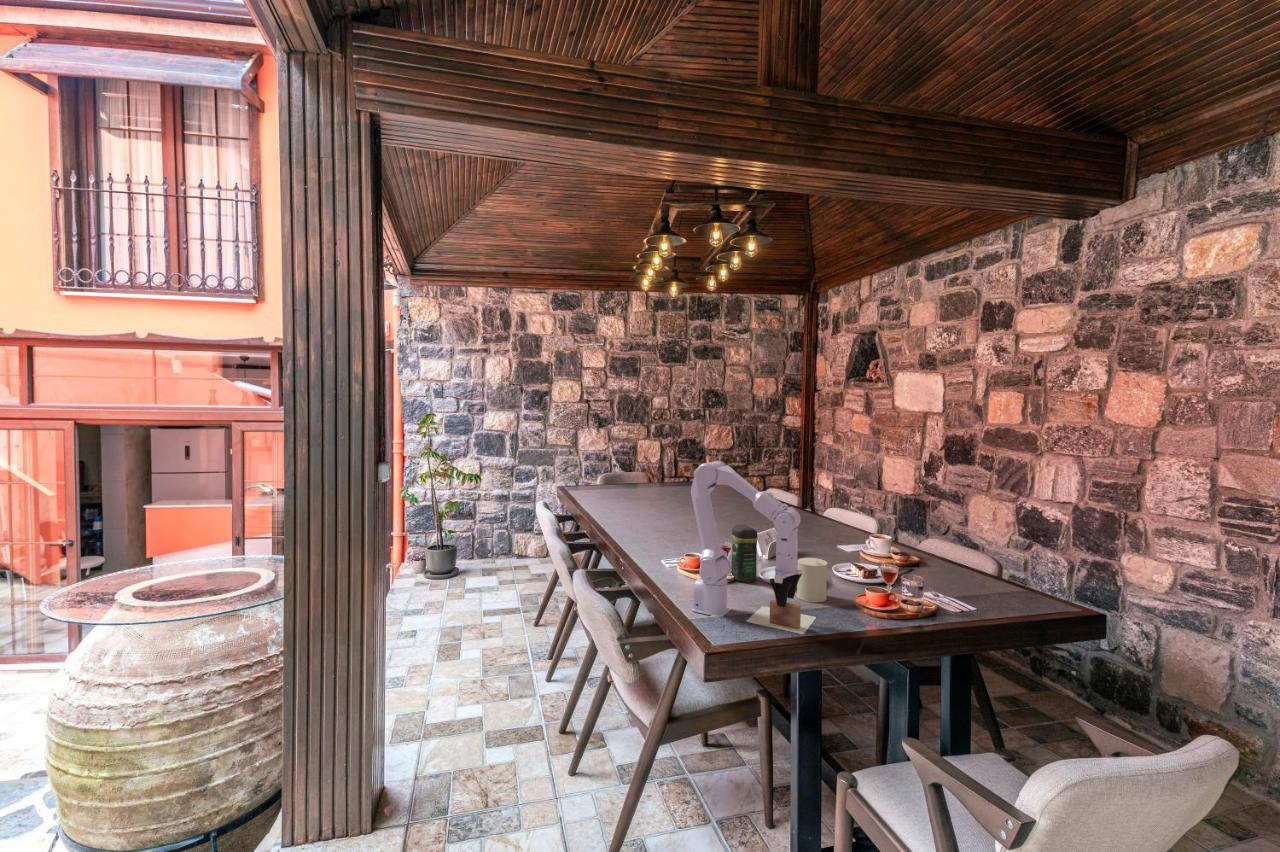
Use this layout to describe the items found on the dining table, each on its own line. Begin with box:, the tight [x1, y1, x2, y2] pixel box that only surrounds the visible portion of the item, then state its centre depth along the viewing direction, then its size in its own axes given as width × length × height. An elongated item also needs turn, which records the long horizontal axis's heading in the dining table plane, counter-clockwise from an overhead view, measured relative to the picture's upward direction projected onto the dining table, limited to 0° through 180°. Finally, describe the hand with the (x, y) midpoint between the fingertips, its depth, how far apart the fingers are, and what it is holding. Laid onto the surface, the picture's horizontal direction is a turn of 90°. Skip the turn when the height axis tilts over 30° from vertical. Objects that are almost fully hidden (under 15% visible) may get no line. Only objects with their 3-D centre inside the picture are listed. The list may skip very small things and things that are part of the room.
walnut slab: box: [769, 599, 802, 629], centre depth 157 cm, size 8×2×6 cm, turn 59°
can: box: [796, 557, 828, 603], centre depth 181 cm, size 9×9×12 cm
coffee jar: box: [730, 524, 758, 583], centre depth 199 cm, size 10×8×19 cm
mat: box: [745, 605, 817, 635], centre depth 161 cm, size 16×14×1 cm
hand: (785, 601), depth 157 cm, fingers open, 7 cm apart
